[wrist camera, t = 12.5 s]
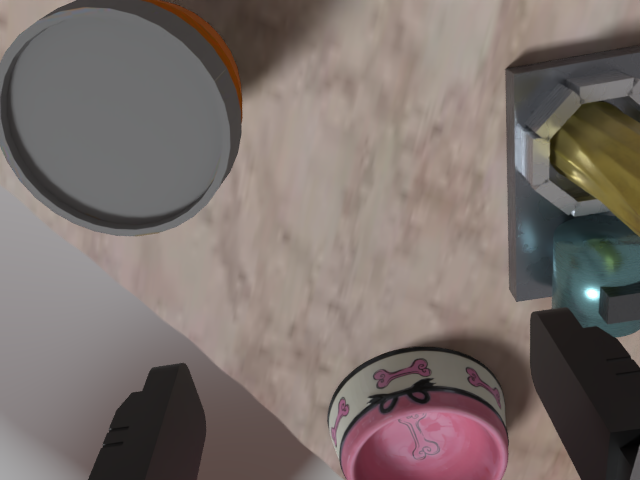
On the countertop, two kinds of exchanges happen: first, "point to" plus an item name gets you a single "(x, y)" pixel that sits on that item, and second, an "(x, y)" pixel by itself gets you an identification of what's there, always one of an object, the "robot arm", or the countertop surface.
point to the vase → (602, 158)
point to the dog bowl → (420, 418)
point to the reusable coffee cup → (121, 113)
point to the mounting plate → (522, 195)
